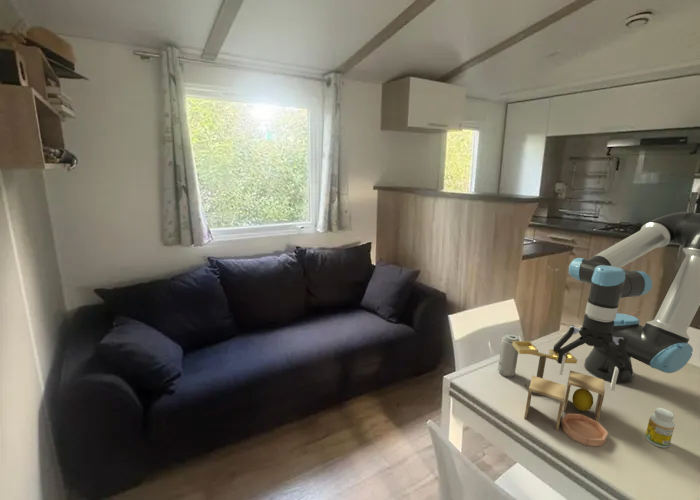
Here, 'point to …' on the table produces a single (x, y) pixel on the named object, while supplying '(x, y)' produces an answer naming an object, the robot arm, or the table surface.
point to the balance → (529, 348)
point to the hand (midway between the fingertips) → (585, 380)
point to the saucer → (584, 430)
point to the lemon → (582, 399)
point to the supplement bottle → (660, 428)
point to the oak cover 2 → (588, 384)
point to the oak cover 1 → (546, 393)
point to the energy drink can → (508, 356)
